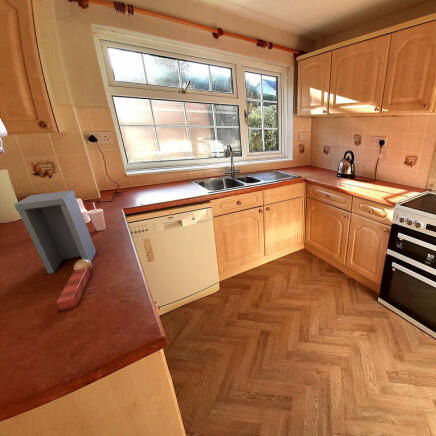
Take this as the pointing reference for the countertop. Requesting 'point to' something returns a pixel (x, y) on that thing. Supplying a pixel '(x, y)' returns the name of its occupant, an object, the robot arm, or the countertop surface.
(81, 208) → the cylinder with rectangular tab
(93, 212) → the smoothie
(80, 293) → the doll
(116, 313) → the countertop surface
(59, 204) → the shelf
